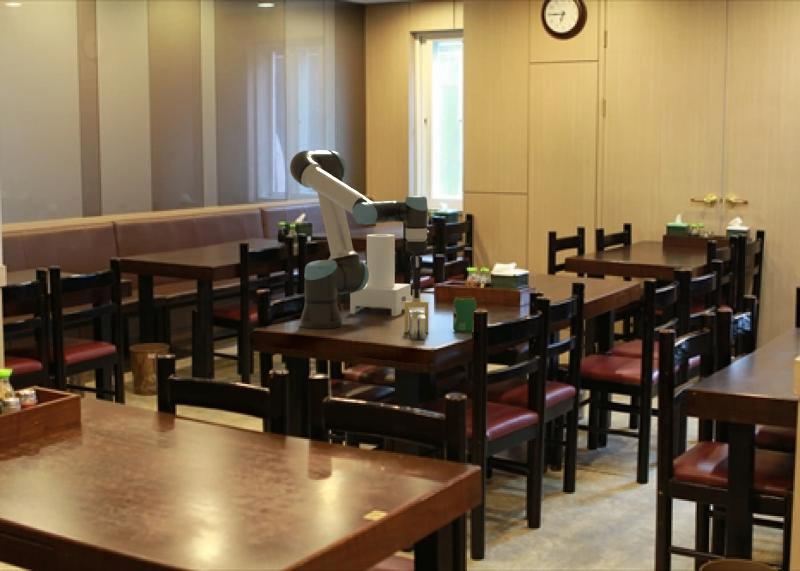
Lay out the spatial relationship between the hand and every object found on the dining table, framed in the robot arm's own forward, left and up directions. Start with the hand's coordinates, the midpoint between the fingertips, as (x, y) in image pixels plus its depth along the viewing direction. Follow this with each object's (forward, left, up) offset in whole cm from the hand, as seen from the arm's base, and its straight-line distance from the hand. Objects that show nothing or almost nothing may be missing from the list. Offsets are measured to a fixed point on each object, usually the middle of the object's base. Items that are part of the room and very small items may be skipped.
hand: (416, 307), depth 402 cm
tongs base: (0, +4, -9) cm, 10 cm away
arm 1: (-1, -9, -8) cm, 12 cm away
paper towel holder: (-12, +47, -9) cm, 50 cm away
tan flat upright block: (0, -2, -8) cm, 9 cm away
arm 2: (+1, -9, -8) cm, 12 cm away
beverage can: (+17, -1, -9) cm, 19 cm away
